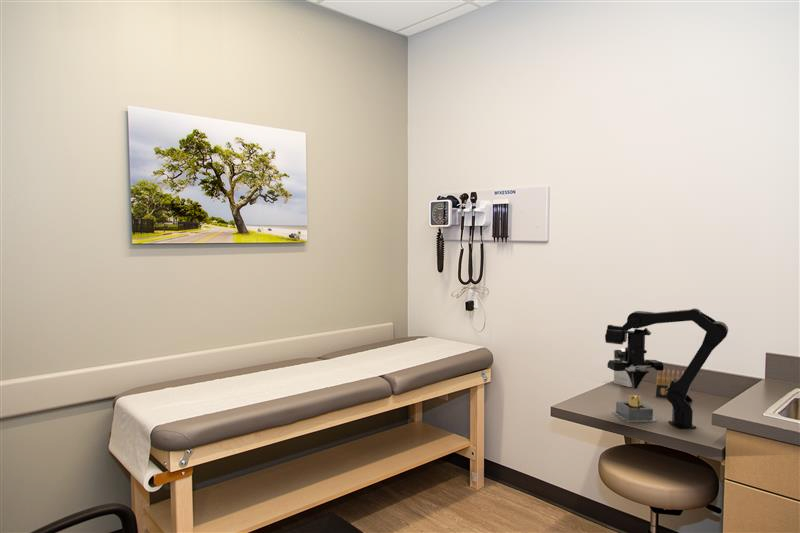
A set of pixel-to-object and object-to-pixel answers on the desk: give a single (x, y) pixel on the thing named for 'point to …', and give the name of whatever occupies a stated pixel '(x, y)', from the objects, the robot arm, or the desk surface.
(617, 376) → the skincare box
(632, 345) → the robot arm
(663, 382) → the ammunition clip
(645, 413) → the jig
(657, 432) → the desk surface
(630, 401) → the bushing
